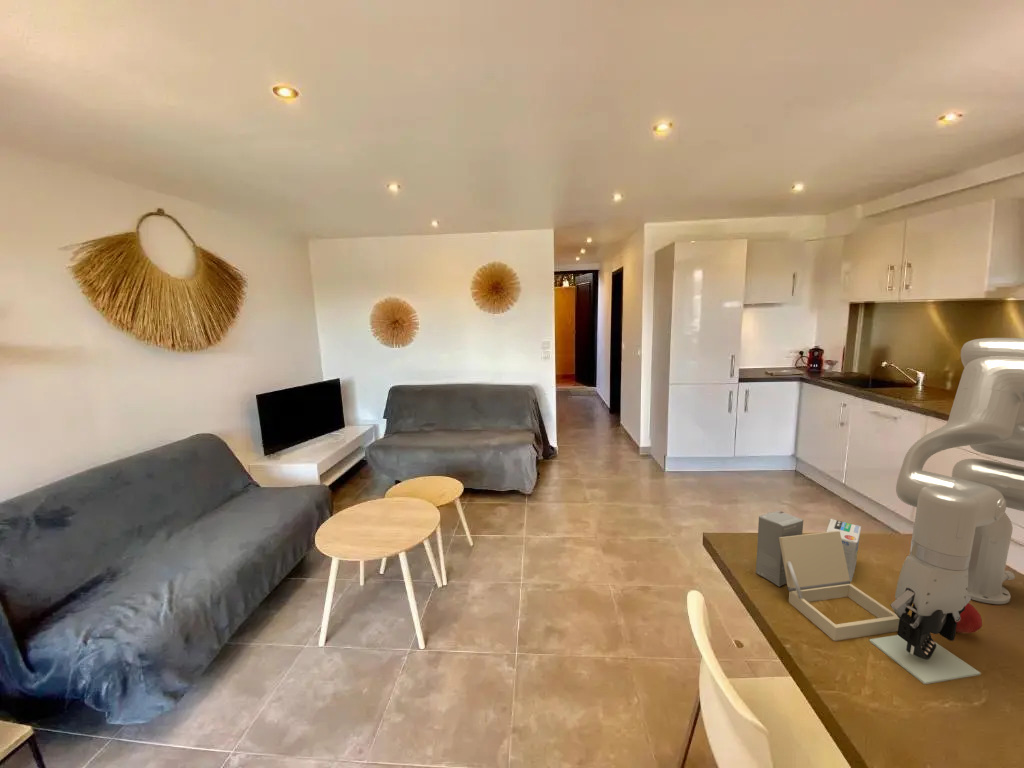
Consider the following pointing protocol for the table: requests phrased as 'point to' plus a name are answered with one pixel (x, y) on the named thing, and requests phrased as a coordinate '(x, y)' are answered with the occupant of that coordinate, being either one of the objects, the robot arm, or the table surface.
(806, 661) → the table surface
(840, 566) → the case
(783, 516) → the skincare box
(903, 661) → the mat
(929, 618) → the battery charger
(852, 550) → the light bulb box
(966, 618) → the red fruit
